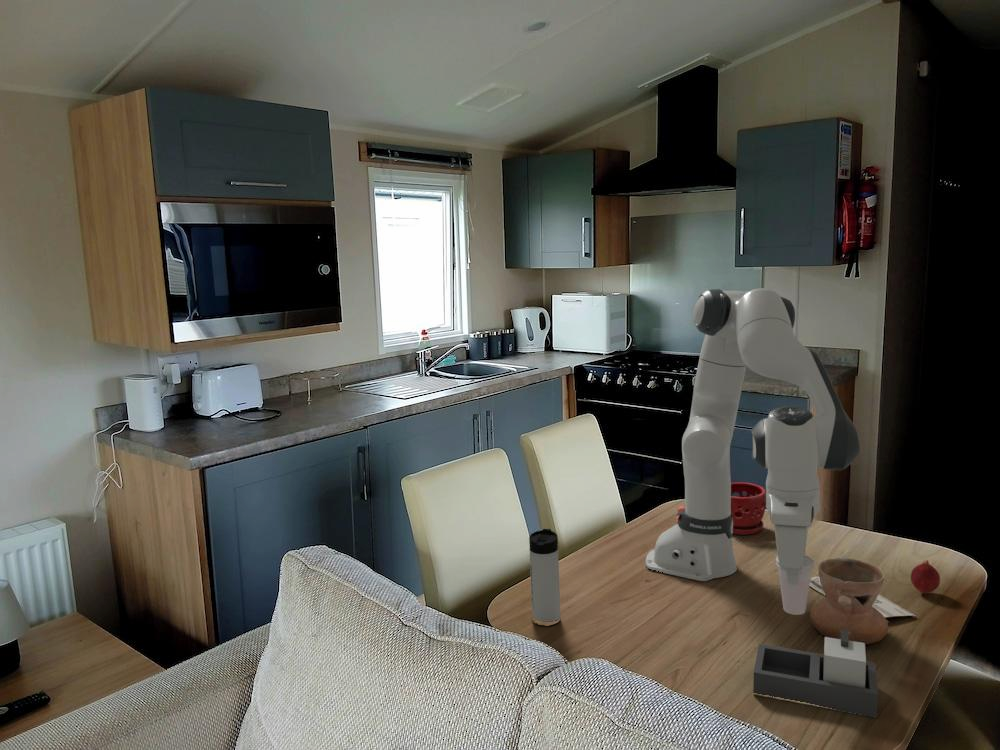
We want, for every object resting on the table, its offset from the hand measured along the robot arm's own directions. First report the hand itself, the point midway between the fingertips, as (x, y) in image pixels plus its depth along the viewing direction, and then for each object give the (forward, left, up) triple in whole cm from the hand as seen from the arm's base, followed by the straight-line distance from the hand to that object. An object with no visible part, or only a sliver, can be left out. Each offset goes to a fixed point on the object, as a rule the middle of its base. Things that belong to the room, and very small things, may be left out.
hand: (793, 573), depth 135 cm
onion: (+26, +48, -22) cm, 58 cm away
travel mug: (-51, +9, -22) cm, 56 cm away
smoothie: (0, 0, -7) cm, 7 cm away
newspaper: (+12, +39, -23) cm, 47 cm away
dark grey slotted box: (+4, +3, -22) cm, 22 cm away
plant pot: (-17, +76, -22) cm, 80 cm away
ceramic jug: (+10, +24, -22) cm, 34 cm away
